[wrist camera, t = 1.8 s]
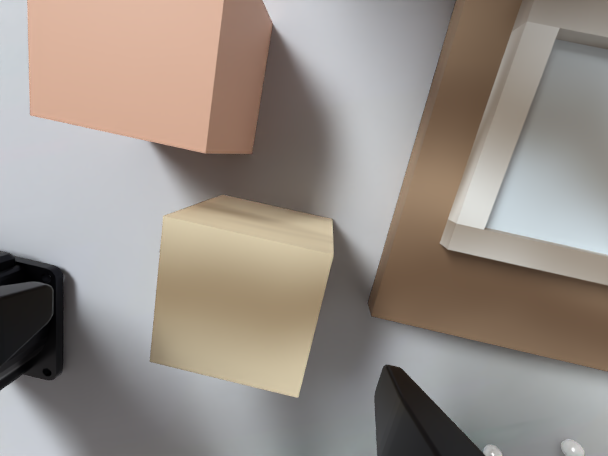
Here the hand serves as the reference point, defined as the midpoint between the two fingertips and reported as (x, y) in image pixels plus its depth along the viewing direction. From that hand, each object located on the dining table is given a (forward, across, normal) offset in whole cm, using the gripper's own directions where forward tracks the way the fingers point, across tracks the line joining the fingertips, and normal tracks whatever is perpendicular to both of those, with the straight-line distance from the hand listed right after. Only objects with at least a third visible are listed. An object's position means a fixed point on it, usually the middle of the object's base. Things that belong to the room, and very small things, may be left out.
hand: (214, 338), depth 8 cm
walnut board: (+6, -11, -7) cm, 15 cm away
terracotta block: (+6, +4, -7) cm, 10 cm away
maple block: (+6, 0, 0) cm, 6 cm away
